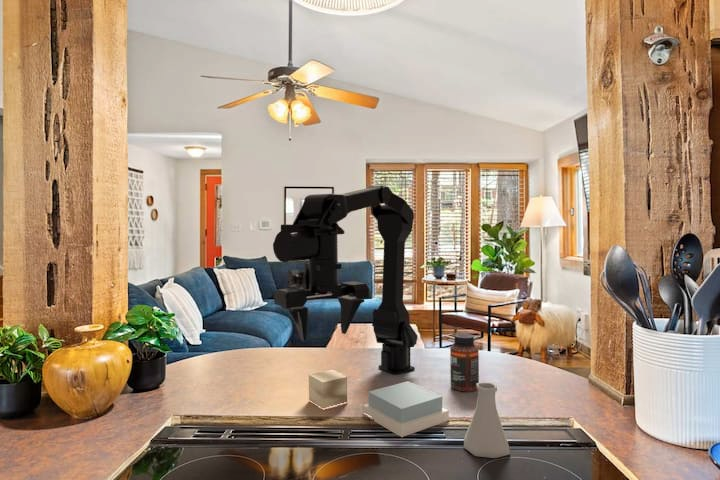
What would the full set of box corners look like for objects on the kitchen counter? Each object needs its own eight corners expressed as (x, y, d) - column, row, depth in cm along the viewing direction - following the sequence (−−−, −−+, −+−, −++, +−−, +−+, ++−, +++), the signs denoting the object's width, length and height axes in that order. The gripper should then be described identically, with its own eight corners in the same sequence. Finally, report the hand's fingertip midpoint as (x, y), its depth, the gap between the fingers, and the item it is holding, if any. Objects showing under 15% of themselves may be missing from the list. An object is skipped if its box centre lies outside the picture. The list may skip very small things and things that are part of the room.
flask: (457, 438, 75) (457, 378, 75) (499, 436, 76) (500, 376, 75) (471, 461, 68) (471, 395, 68) (518, 458, 69) (518, 393, 68)
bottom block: (408, 404, 91) (408, 391, 91) (448, 424, 82) (448, 410, 82) (363, 418, 85) (363, 404, 85) (401, 441, 76) (401, 426, 76)
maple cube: (332, 395, 94) (332, 369, 94) (347, 404, 90) (347, 376, 89) (309, 401, 91) (308, 374, 91) (323, 411, 86) (322, 382, 86)
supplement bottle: (481, 385, 100) (481, 333, 99) (475, 394, 94) (476, 340, 94) (453, 381, 102) (453, 330, 102) (447, 390, 97) (447, 337, 96)
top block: (407, 393, 90) (407, 381, 90) (442, 410, 82) (442, 396, 82) (368, 405, 85) (368, 391, 84) (401, 423, 77) (401, 408, 77)
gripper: (340, 253, 102) (341, 323, 102) (261, 258, 91) (263, 336, 91) (370, 256, 92) (371, 333, 93) (286, 262, 82) (288, 349, 82)
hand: (324, 337), depth 90 cm, fingers open, 9 cm apart
